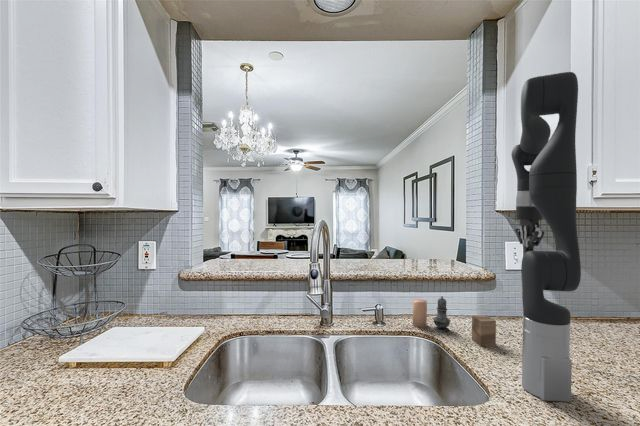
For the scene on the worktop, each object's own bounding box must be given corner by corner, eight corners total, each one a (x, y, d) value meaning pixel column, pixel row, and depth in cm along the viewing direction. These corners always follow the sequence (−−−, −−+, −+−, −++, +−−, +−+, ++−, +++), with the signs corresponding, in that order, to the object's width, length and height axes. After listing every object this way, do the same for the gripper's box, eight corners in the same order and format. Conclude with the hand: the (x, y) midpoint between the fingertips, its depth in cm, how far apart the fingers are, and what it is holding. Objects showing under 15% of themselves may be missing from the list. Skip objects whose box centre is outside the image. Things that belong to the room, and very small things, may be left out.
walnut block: (495, 345, 103) (496, 320, 102) (480, 346, 102) (480, 321, 102) (486, 339, 108) (486, 315, 107) (471, 339, 107) (472, 315, 107)
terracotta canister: (428, 327, 117) (428, 303, 117) (414, 327, 118) (414, 302, 118) (424, 323, 122) (425, 299, 122) (411, 322, 123) (411, 298, 123)
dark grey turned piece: (447, 334, 112) (448, 299, 112) (430, 330, 115) (431, 296, 115) (452, 328, 117) (452, 295, 116) (435, 325, 120) (436, 292, 120)
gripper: (507, 205, 113) (506, 255, 113) (528, 205, 99) (527, 261, 100) (530, 205, 112) (529, 255, 112) (554, 205, 99) (553, 262, 99)
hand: (528, 258), depth 106 cm, fingers closed
